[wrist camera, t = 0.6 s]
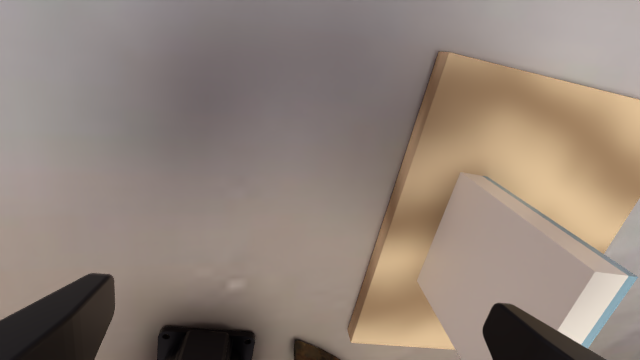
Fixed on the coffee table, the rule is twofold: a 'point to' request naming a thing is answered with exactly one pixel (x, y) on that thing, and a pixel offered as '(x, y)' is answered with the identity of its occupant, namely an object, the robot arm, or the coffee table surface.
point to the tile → (514, 269)
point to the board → (496, 177)
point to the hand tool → (310, 352)
